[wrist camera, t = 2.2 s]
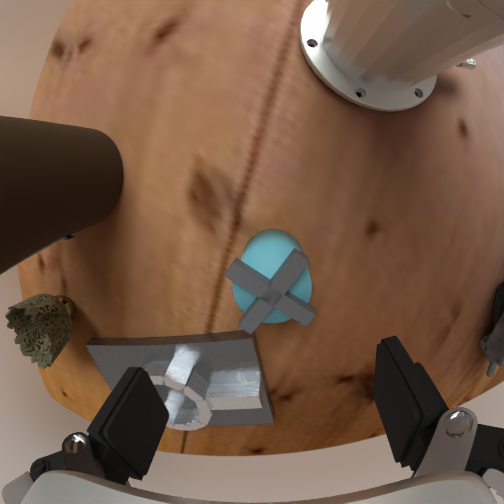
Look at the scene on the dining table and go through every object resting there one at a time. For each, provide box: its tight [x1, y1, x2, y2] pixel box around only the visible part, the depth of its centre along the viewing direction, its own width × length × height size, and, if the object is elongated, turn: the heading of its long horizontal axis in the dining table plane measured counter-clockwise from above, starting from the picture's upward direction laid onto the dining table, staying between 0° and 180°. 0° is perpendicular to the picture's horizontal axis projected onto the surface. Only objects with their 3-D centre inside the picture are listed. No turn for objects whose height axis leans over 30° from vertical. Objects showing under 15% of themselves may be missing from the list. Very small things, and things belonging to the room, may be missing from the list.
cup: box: [6, 294, 75, 369], centre depth 23 cm, size 8×7×8 cm
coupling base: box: [86, 330, 274, 431], centre depth 26 cm, size 20×13×4 cm, turn 102°
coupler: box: [225, 229, 316, 334], centre depth 19 cm, size 5×5×7 cm
